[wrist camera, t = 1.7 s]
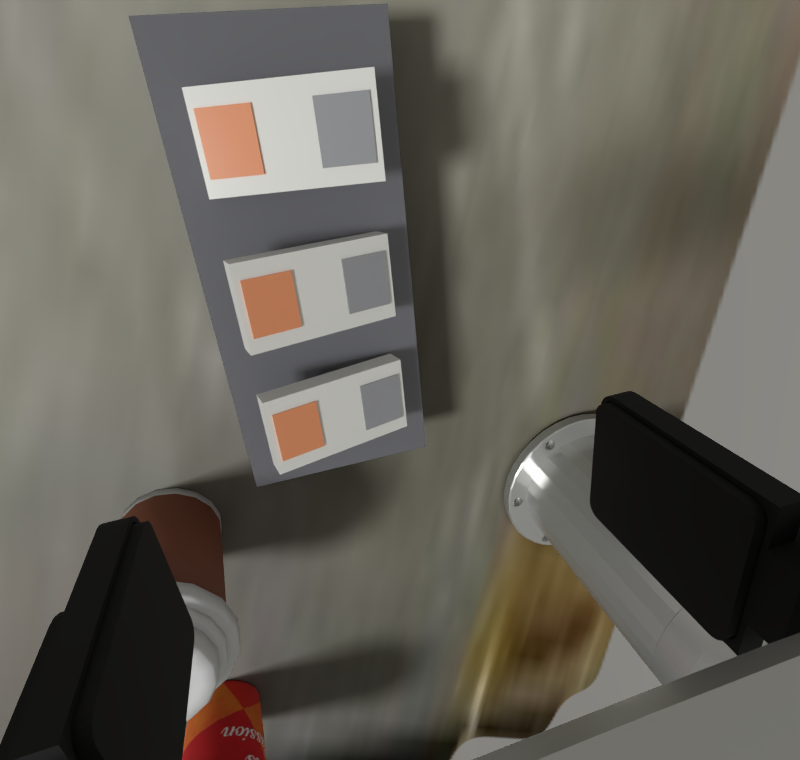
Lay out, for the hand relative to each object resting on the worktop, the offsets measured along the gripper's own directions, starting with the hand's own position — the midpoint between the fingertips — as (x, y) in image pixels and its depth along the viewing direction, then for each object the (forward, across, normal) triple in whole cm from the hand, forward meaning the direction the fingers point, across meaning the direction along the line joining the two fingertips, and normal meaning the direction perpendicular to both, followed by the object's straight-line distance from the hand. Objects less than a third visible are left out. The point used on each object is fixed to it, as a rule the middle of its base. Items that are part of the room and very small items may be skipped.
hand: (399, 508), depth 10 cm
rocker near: (+17, -1, -7) cm, 19 cm away
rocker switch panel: (+22, 0, 0) cm, 22 cm away
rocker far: (+17, 0, +7) cm, 18 cm away
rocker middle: (+17, 0, 0) cm, 17 cm away
